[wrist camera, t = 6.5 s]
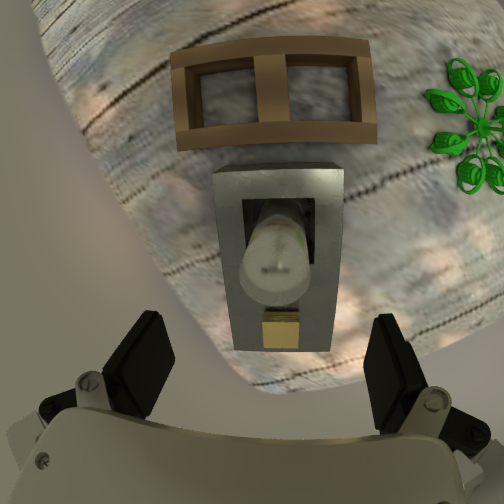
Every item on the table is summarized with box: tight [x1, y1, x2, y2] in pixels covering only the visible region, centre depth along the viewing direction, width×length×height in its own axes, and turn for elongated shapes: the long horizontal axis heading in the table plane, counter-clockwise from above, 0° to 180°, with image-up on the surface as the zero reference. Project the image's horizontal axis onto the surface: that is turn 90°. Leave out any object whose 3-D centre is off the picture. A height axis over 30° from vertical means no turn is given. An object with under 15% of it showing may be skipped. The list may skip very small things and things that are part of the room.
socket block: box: [211, 162, 344, 352], centre depth 25 cm, size 18×10×5 cm, turn 4°
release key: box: [262, 312, 299, 348], centre depth 26 cm, size 3×3×6 cm
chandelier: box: [425, 58, 504, 195], centre depth 16 cm, size 15×15×7 cm
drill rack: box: [170, 36, 377, 152], centre depth 19 cm, size 9×16×4 cm, turn 94°
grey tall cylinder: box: [239, 198, 310, 306], centre depth 21 cm, size 4×4×12 cm
